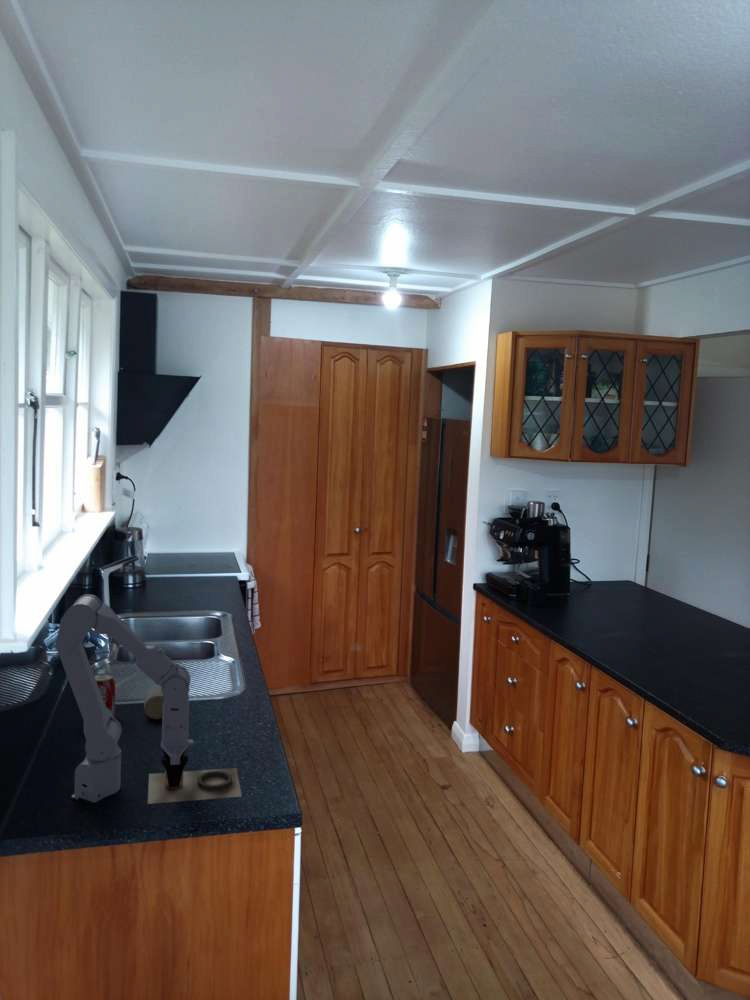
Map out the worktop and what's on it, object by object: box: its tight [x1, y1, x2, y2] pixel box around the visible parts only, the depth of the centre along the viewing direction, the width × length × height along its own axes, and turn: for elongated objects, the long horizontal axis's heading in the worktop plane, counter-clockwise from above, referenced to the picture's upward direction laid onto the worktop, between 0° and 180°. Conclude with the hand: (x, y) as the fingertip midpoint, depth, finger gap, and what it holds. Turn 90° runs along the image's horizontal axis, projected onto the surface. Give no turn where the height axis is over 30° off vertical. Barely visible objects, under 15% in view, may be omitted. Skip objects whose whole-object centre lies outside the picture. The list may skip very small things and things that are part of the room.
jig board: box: [147, 767, 243, 805], centre depth 175 cm, size 20×14×2 cm
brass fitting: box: [164, 768, 185, 791], centre depth 174 cm, size 4×4×4 cm
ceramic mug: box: [143, 684, 164, 720], centre depth 216 cm, size 11×8×8 cm
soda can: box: [94, 672, 116, 718], centre depth 210 cm, size 7×7×12 cm
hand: (174, 781), depth 174 cm, fingers closed on brass fitting, 4 cm apart
